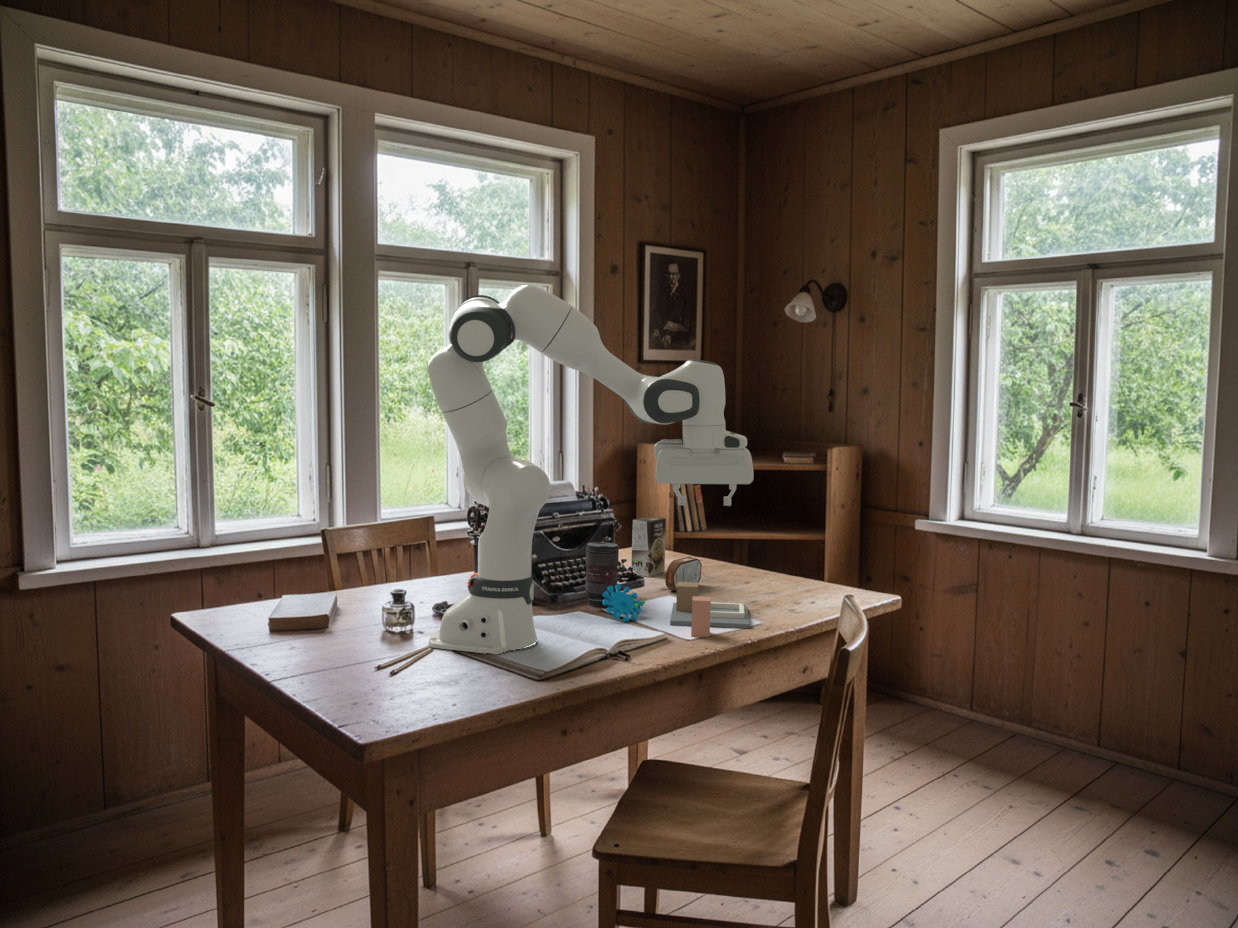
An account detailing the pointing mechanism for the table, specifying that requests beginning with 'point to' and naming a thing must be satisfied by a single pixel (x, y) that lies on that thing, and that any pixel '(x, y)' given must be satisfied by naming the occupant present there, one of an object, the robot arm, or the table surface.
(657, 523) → the coffee box
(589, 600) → the camera lens
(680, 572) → the tin
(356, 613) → the table surface
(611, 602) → the gear
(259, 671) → the table surface
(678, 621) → the base plate
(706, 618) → the pillar block
